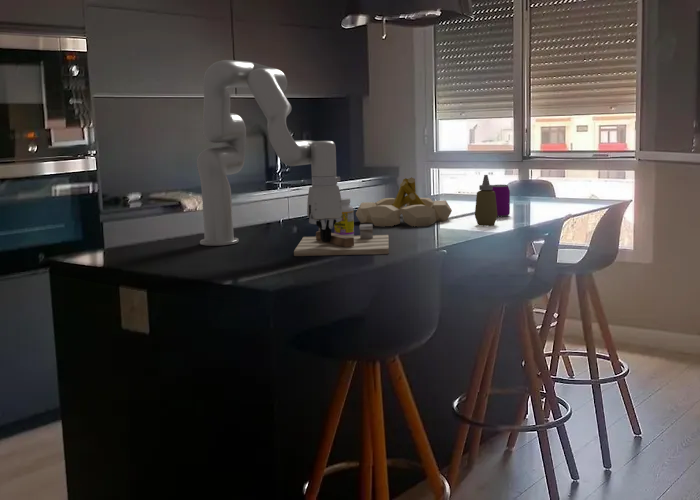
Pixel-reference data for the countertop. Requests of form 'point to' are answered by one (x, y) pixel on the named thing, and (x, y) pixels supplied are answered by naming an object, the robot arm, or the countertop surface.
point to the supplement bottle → (345, 219)
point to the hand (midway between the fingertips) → (326, 241)
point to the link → (338, 239)
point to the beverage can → (502, 200)
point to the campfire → (404, 209)
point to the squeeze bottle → (486, 204)
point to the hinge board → (362, 245)
